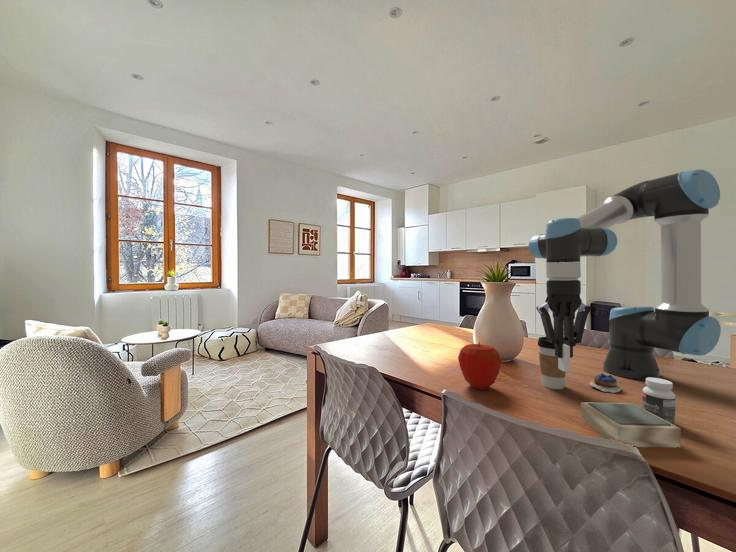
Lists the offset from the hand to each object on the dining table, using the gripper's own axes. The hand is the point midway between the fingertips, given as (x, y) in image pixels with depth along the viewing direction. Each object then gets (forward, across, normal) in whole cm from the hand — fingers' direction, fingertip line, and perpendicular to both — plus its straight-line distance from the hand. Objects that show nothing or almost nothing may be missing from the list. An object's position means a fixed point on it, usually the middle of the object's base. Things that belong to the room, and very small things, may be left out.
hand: (564, 369), depth 81 cm
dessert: (+12, -19, -16) cm, 27 cm away
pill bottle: (+10, -17, +7) cm, 21 cm away
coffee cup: (+10, -5, -16) cm, 20 cm away
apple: (+10, +18, -14) cm, 24 cm away
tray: (+10, -6, +12) cm, 17 cm away
